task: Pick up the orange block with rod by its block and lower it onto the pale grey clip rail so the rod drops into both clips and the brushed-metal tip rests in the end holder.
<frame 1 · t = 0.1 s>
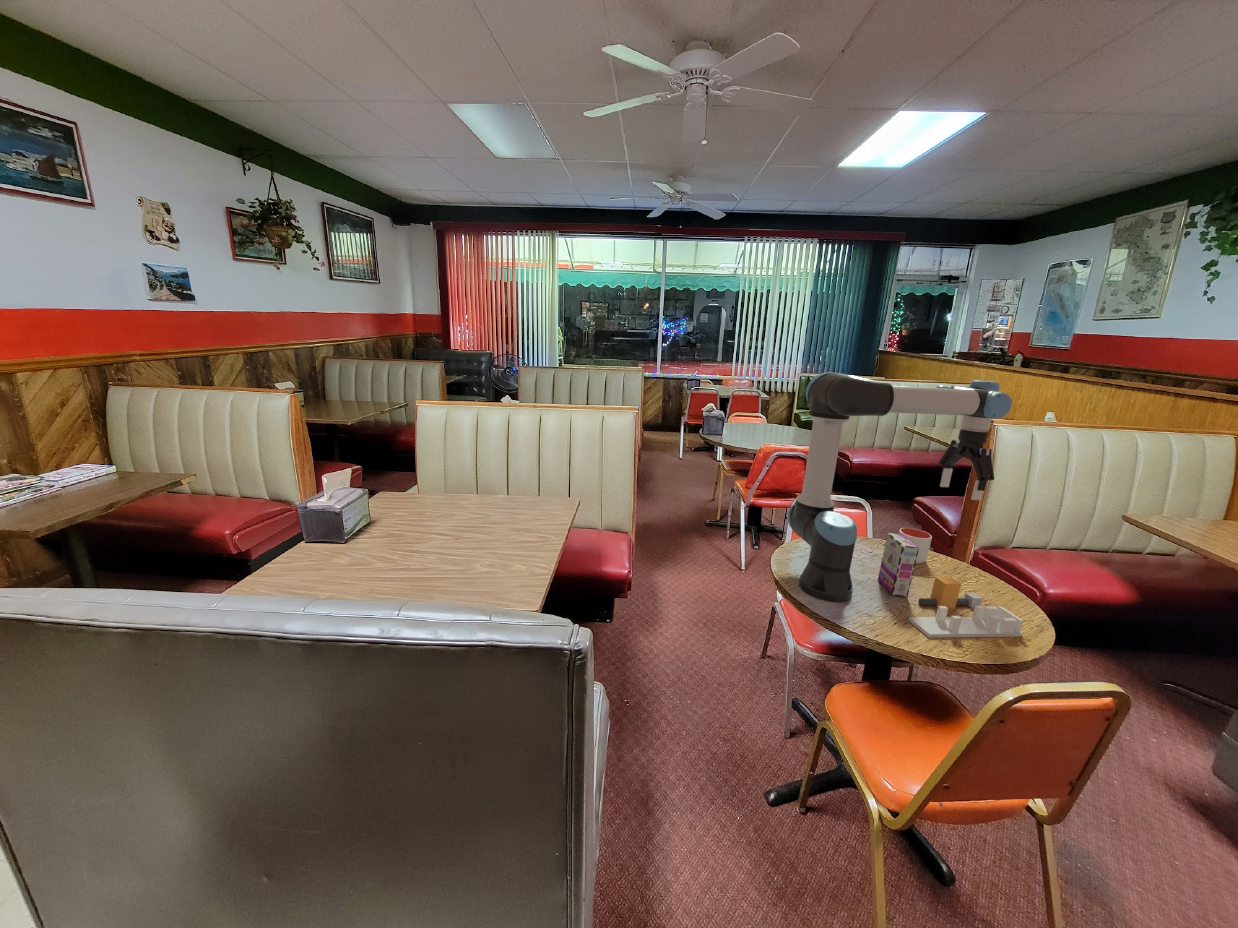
hand: (959, 492, 161), 28 cm above the table, fingers open, 13 cm apart
clip rail: (964, 628, 133), on the table
candy bar box: (892, 588, 153), on the table
orange block with rod: (942, 604, 145), on the table
cup: (909, 559, 176), on the table
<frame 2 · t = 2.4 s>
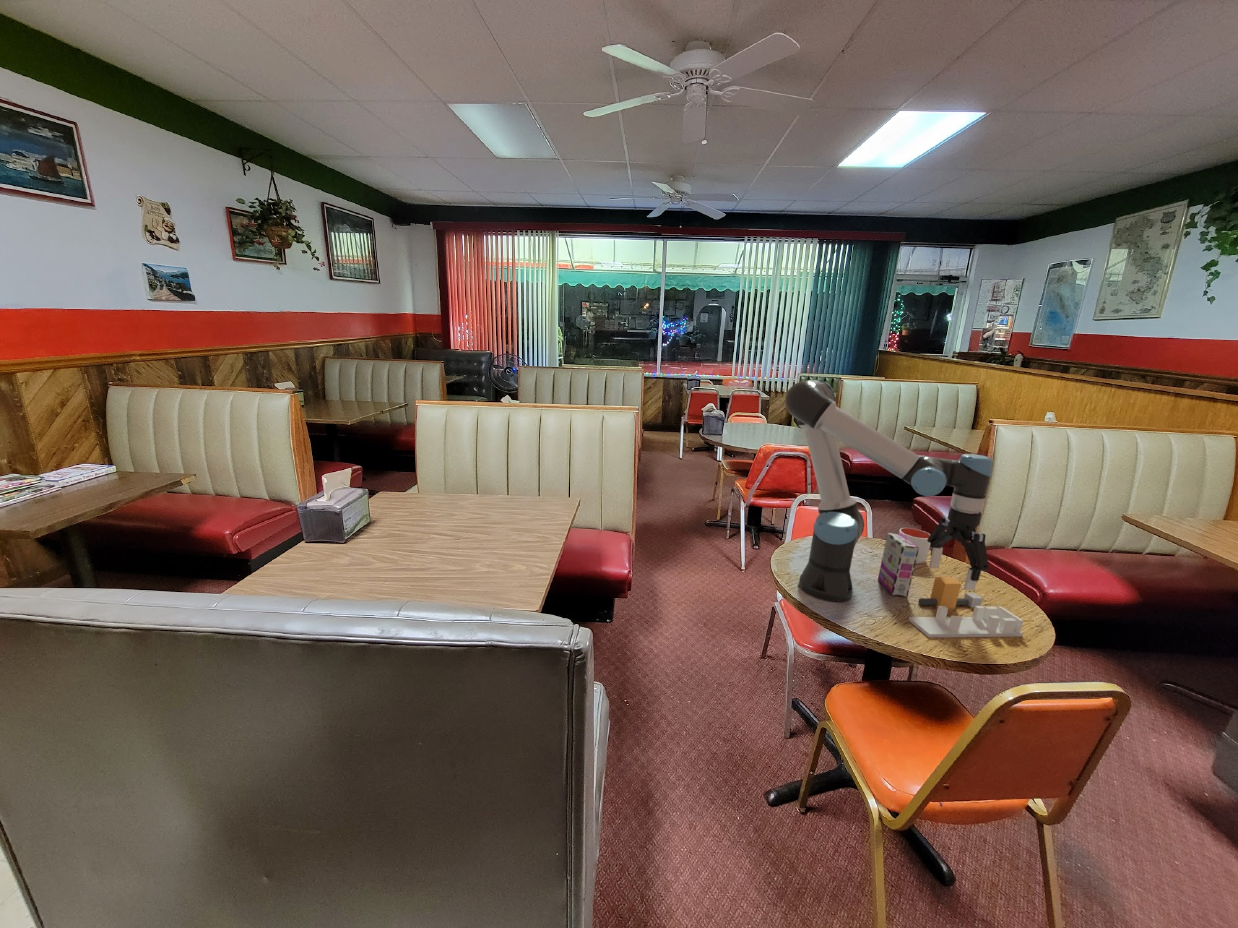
hand: (950, 578, 142), 9 cm above the table, fingers open, 13 cm apart
nothing on the table moved.
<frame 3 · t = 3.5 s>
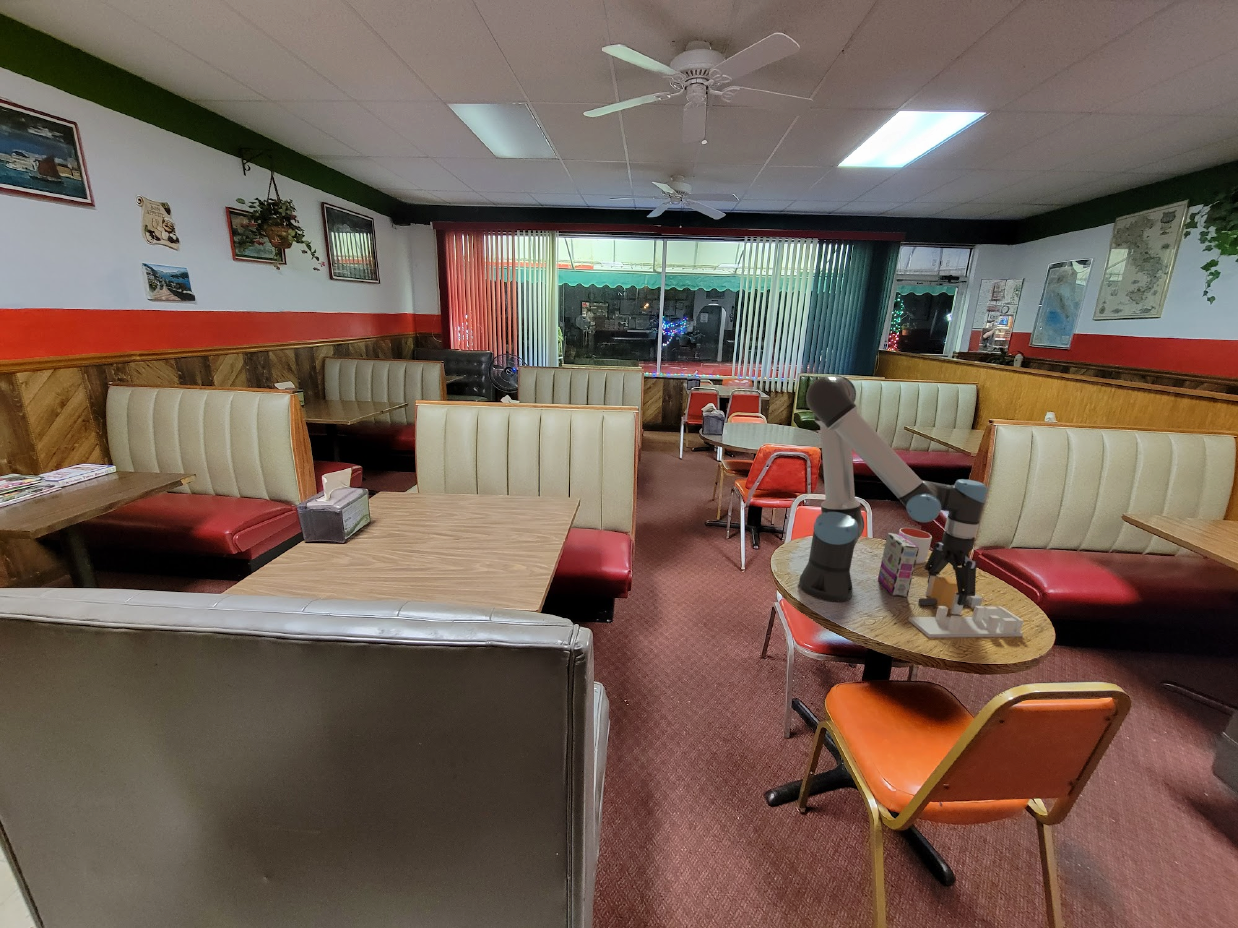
hand: (942, 604, 145), 0 cm above the table, fingers open, 9 cm apart
nothing on the table moved.
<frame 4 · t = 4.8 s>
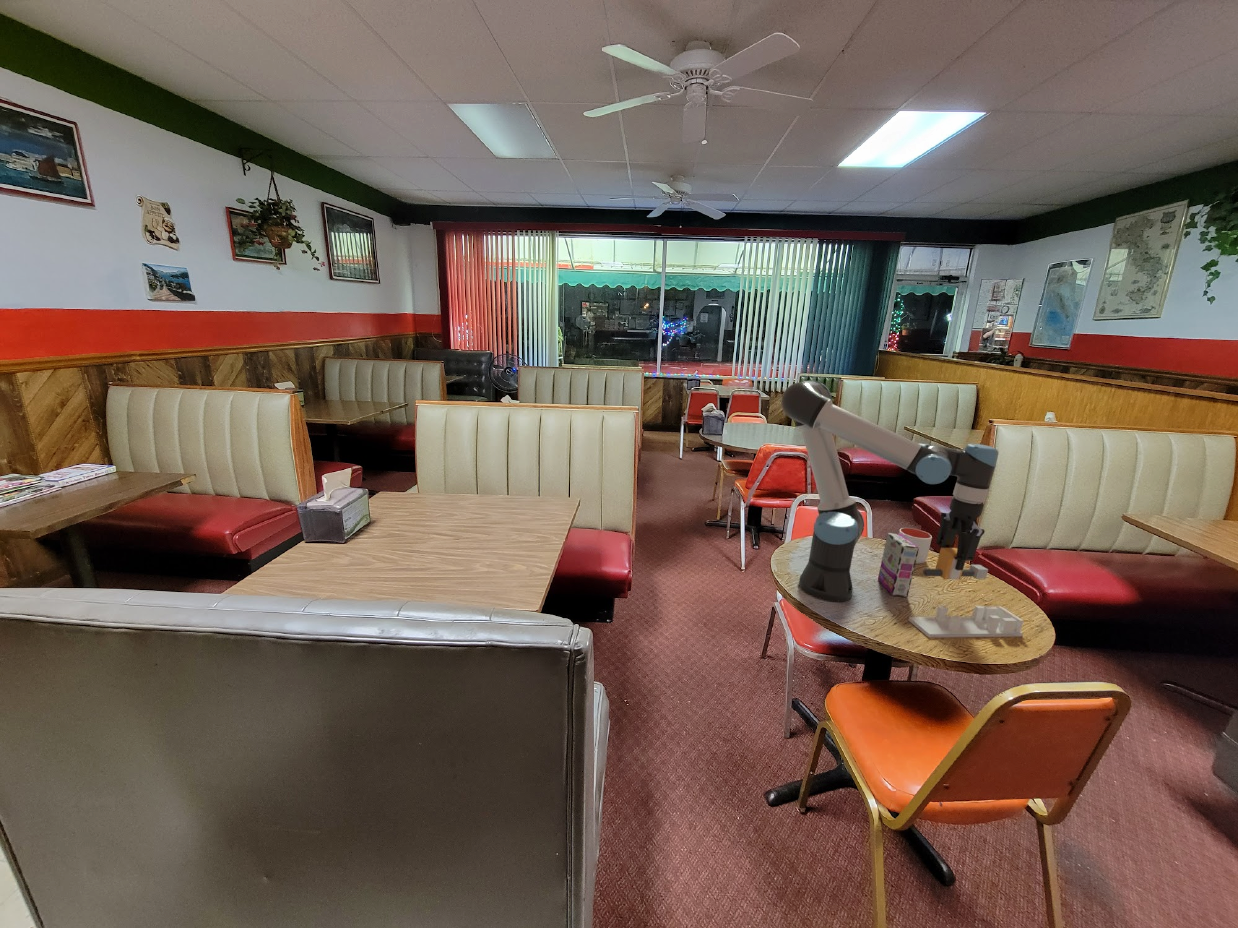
hand: (947, 574, 143), 10 cm above the table, fingers closed on orange block with rod, 4 cm apart
orange block with rod: (947, 575, 143), point 9 cm above the table, touching gripper
everything else where it was.
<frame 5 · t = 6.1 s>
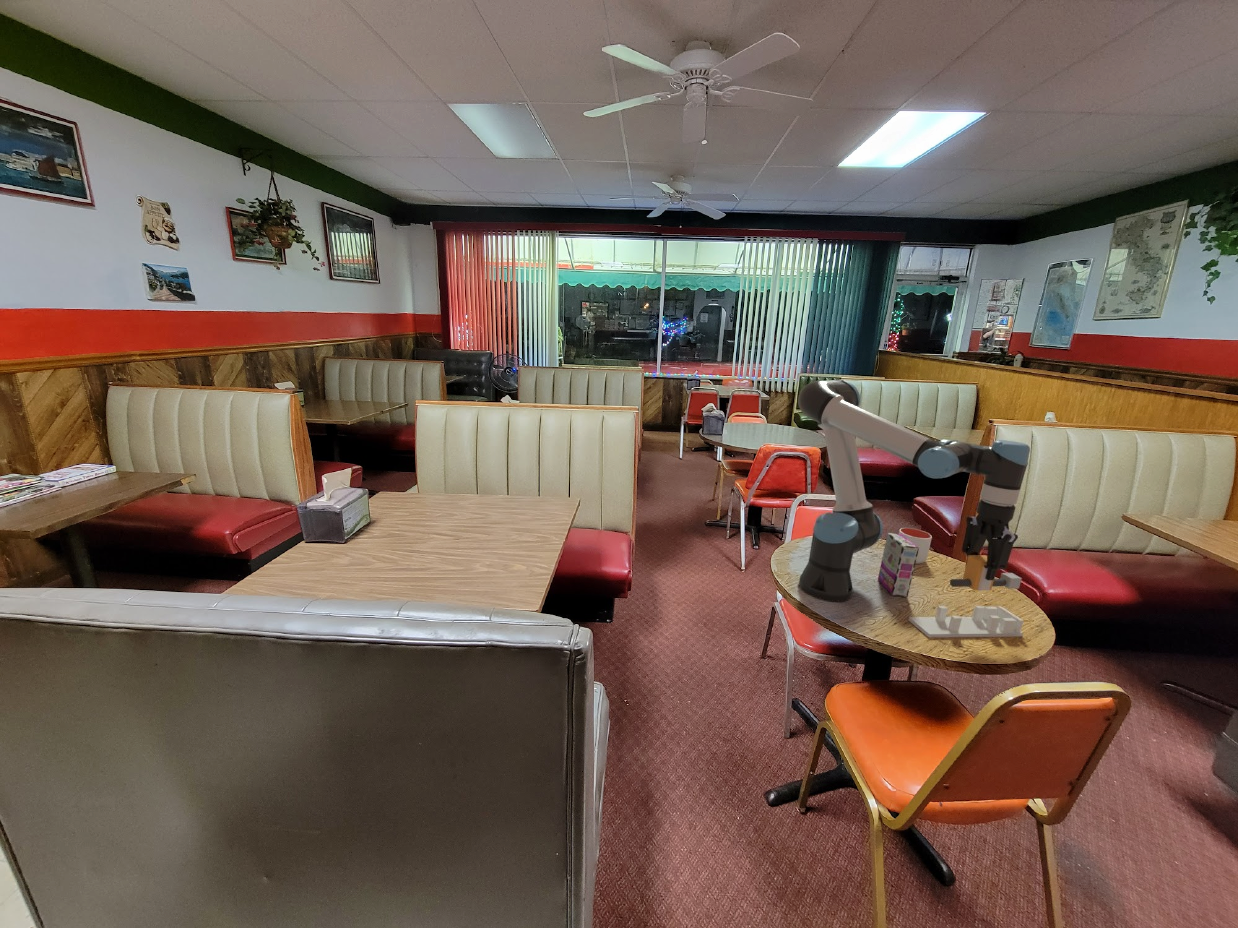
hand: (976, 584, 129), 13 cm above the table, fingers closed on orange block with rod, 4 cm apart
orange block with rod: (976, 586, 130), point 13 cm above the table, touching gripper
everything else where it was.
when the fingers open (2 cm above the table, at t = 7.9 s): orange block with rod stays where it is, resting on clip rail.
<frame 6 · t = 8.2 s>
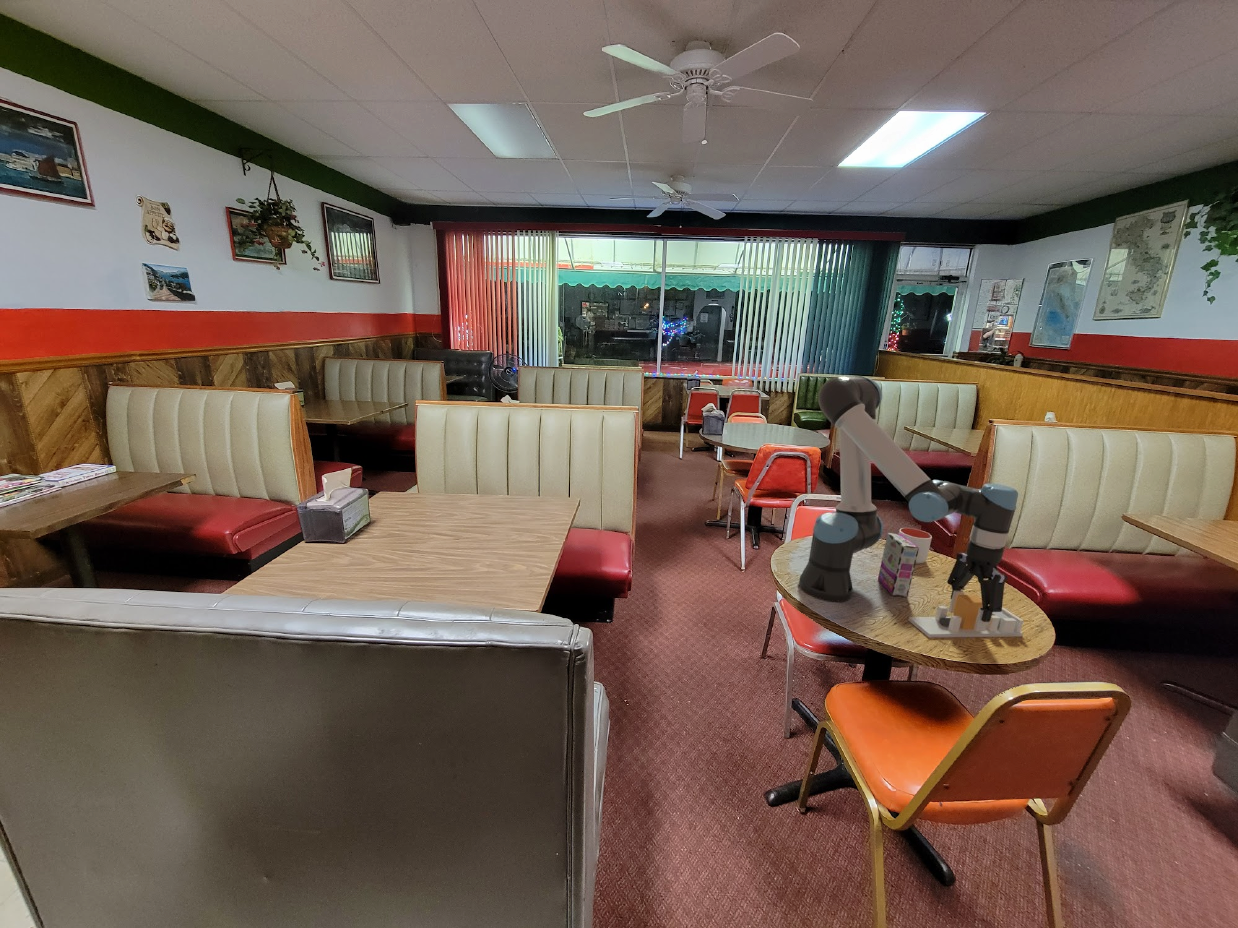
hand: (966, 620, 132), 2 cm above the table, fingers open, 8 cm apart
orange block with rod: (965, 624, 133), point 1 cm above the table, touching clip rail
everything else where it was.
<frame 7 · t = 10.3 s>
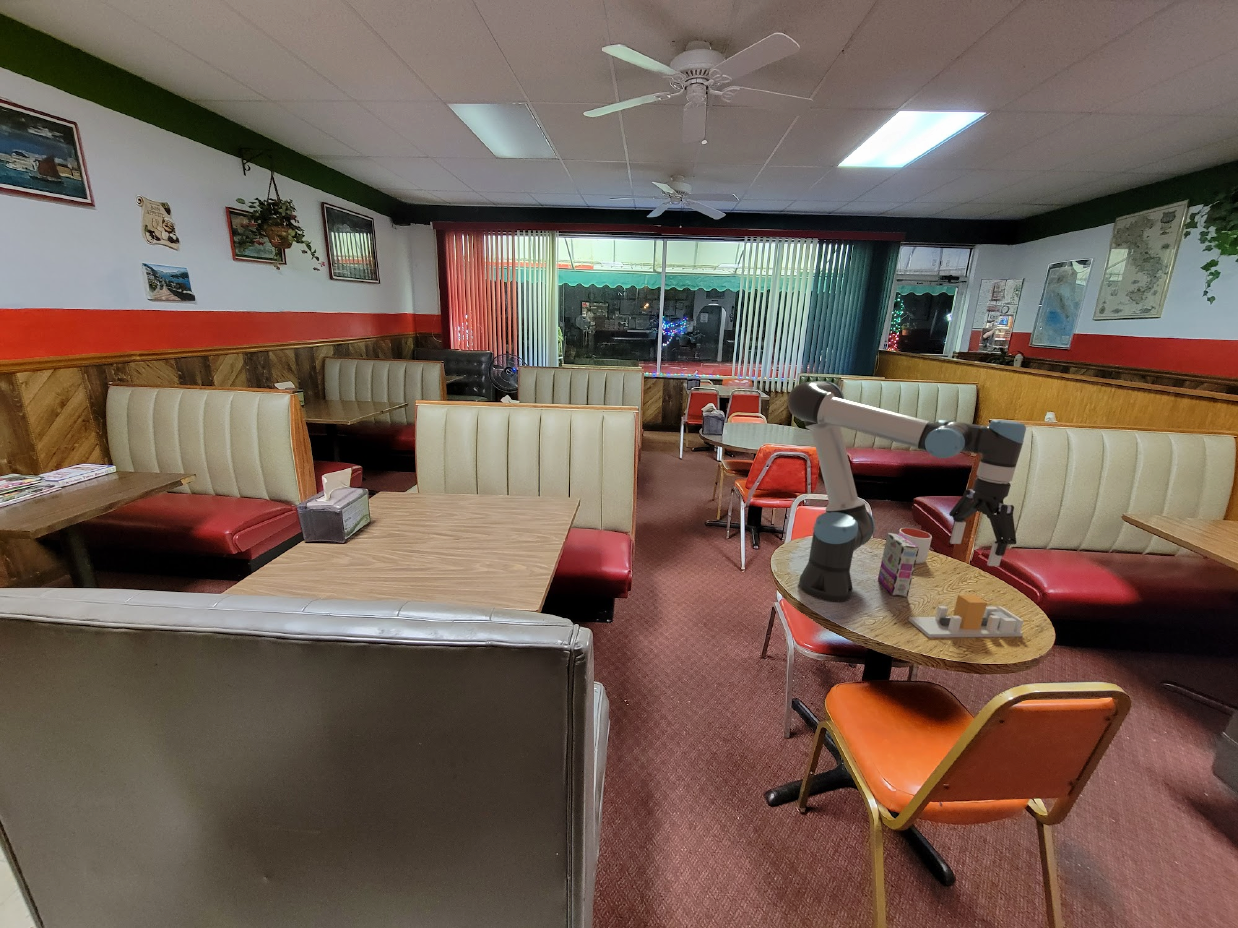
hand: (973, 553, 133), 20 cm above the table, fingers open, 13 cm apart
nothing on the table moved.
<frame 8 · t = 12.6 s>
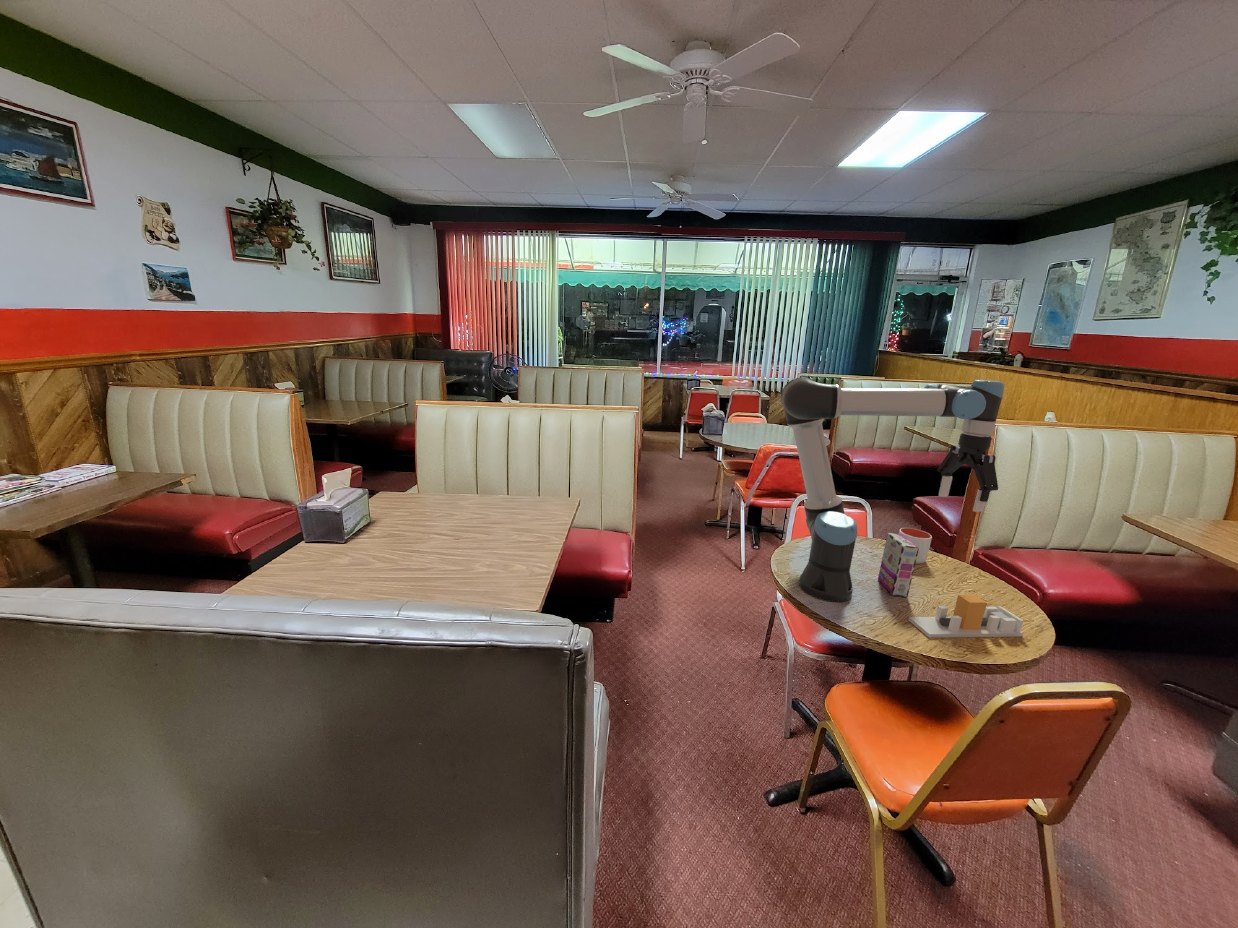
hand: (959, 503, 147), 29 cm above the table, fingers open, 13 cm apart
nothing on the table moved.
at the end: orange block with rod 0.2 cm off-centre on the clip rail, point 1.0 cm above the clip rail's base; orange block with rod tilted 0°; the gripper is holding nothing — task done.
